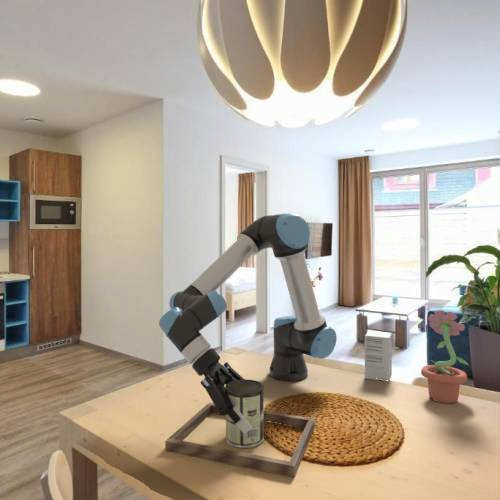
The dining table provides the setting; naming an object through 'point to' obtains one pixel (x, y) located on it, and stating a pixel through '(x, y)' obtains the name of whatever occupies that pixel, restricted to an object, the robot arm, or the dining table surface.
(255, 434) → the coffee can
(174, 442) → the walnut frame
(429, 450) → the dining table surface
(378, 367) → the supplement box
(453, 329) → the decorative flower
